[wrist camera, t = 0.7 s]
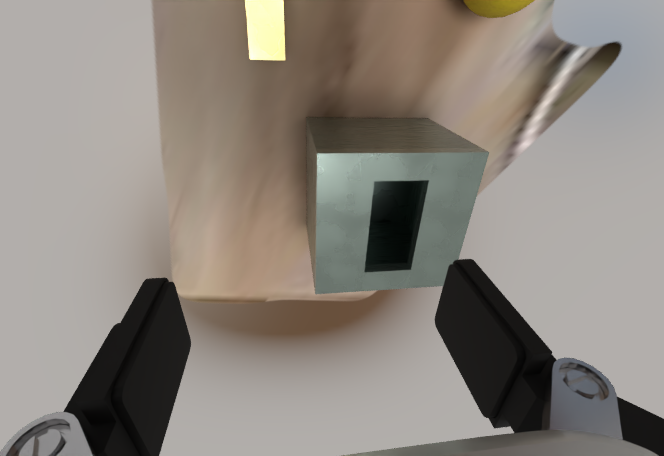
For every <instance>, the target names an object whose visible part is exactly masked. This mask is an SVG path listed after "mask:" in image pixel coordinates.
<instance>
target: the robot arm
mask: <svg viewBox="0 0 664 456" xmlns="http://www.w3.org/2000/svg"><path fill="white" fill-rule="evenodd" d="M435 325H436V328H437V330H438V332H439V334H440V335H441V337H442V339H443V341H444V343H445V345H446V347H447V349H448V351H449V352H450V354H451V356H452V358H453V360H454V362H455V364H456V366H457V367H458V369H459V371H460V373H461V375H462V377H463V379H464V381H465V383H466V385H467V386H468V388H469V390H470V392H471V394H472V396H473V398H474V400H475V402H476V403H477V405H478V407H479V409H480V411H481V413H482V414H483V416H484V417H486V418H489V420H490V421H491V423H492V425H493V427H494V428H501V427H508V426H511V428H512V429H513V431H514V433H513V434H503V435H494V436H485V437H477V438H470V439H462V440H455V441H447V442H439V443H432V444H424V445H417V446H409V447H402V448H396V449H395V448H394V449H387V450H381V451H372V452H366V453H358V454H350V455H343V456H664V419H663V418H661V417H659V416H656V415H655V414H652V413H650V412H648V411H646V410H644V409H642V408H640V407H638V406H636V405H633V404H632V403H629V402H627V401H625V400H623V399H621V398H619V397H617V395H616V392H615V389H614V387H613V385H612V384H611V382H610V381H609V380H608V379H607V378H606V377H605V376H604V375H603V374H602V373H601V372H600V371H598V370H597V369H596V368H594V367H593V366H591V365H589V364H587V363H585V362H583V361H580V360H577V359H574V358H561V359H558V360H556V359H555V358H554V357H553V355H552V351H551V350H550V349H549V348H548V347H547V346H546V344H545V343H544V342H543V341H542V340H541V338H540V337H539V336H538V335H537V334H536V333H535V331H534V330H533V329H532V328H531V327H530V326H529V325H528V323H527V322H526V321H525V320H524V319H523V317H522V316H521V315H520V314H519V313H518V312H517V311H516V309H515V308H514V307H513V306H512V305H511V303H510V302H509V301H508V300H507V299H506V298H505V296H504V295H503V294H502V293H501V292H500V291H499V289H498V288H497V287H496V286H495V285H494V284H493V282H492V281H491V280H490V279H489V278H488V276H487V275H486V274H485V273H484V272H483V271H482V269H481V268H480V267H479V266H478V265H477V264H476V262H475V261H474V260H472V259H463V260H455V261H454V262H453V264H450V265H449V267H448V270H447V274H446V278H445V282H444V286H443V289H442V293H441V297H440V301H439V304H438V308H437V312H436V316H435ZM190 347H191V340H190V335H189V332H188V329H187V325H186V322H185V319H184V315H183V312H182V308H181V305H180V301H179V298H178V294H177V291H176V287H175V284H174V283H173V282H169V281H168V279H167V278H152V279H146V280H145V281H144V282H143V284H142V286H141V287H140V289H139V291H138V293H137V295H136V297H135V298H134V300H133V302H132V304H131V305H130V307H129V309H128V311H127V312H126V314H125V316H124V318H123V319H122V321H121V323H118V324H116V325H115V326H114V327H113V328H112V329H111V331H110V333H109V334H108V336H107V338H106V339H105V341H104V343H103V345H102V346H101V348H100V350H99V352H98V353H97V355H96V357H95V359H94V360H93V362H92V363H91V365H90V367H89V369H88V370H87V372H86V374H85V376H84V377H83V379H82V381H81V382H80V384H79V386H78V388H77V390H76V391H75V393H74V394H73V396H72V398H71V400H70V401H69V403H68V405H67V407H66V408H65V410H64V412H56V413H52V414H48V415H45V416H43V417H41V418H39V419H37V420H35V421H33V422H31V423H29V424H28V425H27V426H25V427H24V428H22V429H21V430H20V431H18V432H17V433H16V434H15V435H14V436H13V437H12V438H11V439H10V440H9V441H8V442H7V444H6V445H5V446H4V448H3V449H2V450H1V452H0V456H159V454H160V451H161V447H162V443H163V440H164V437H165V434H166V430H167V427H168V423H169V420H170V416H171V413H172V410H173V406H174V403H175V399H176V396H177V393H178V389H179V386H180V382H181V379H182V375H183V372H184V369H185V365H186V361H187V358H188V355H189V352H190Z"/></svg>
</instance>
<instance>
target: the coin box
mask: <svg viewBox="0 0 664 456" xmlns="http://www.w3.org/2000/svg"><path fill="white" fill-rule="evenodd" d="M488 155H489V152H488V151H486V150H484V149H482V148H480V147H479V146H477V145H475V144H473V143H471V142H470V141H468V140H466V139H464V138H462V137H461V136H459V135H457V134H455V133H453V132H452V131H450V130H448V129H446V128H444V127H443V126H441V125H439V124H437V123H435V122H434V121H432V120H430V119H428V118H333V117H306V177H307V233H308V241H309V249H310V256H311V264H312V272H313V280H314V287H315V294H325V293H340V292H356V291H371V290H387V289H401V288H418V287H434V286H444V282H445V278H446V274H447V270H448V267H449V265H450V264H453V262H454V261H455V260H458V258H459V255H460V251H461V248H462V244H463V241H464V238H465V234H466V230H467V227H468V224H469V220H470V217H471V213H472V210H473V206H474V203H475V200H476V196H477V193H478V189H479V186H480V182H481V179H482V175H483V172H484V168H485V165H486V162H487V158H488Z"/></svg>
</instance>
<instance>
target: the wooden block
mask: <svg viewBox="0 0 664 456" xmlns="http://www.w3.org/2000/svg"><path fill="white" fill-rule="evenodd" d="M245 6H246V18H247V30H248V42H249V54H250V59H252V60H284V61H285V36H284V6H283V0H245Z"/></svg>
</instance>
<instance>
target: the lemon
mask: <svg viewBox="0 0 664 456" xmlns="http://www.w3.org/2000/svg"><path fill="white" fill-rule="evenodd" d="M463 1H464V3H465V4H466V5H467V7H468V8H469V9H470V10H471V11H473V12H474V13H476V14H477V15H479V16H483V17H487V18H497V17H505V16H508V15H510V14H513V13H515V12H518V11H520V10H521V9H523V8H525V7H526V6H527V5H529V4H530V3H532V2H533V1H534V0H463Z"/></svg>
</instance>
